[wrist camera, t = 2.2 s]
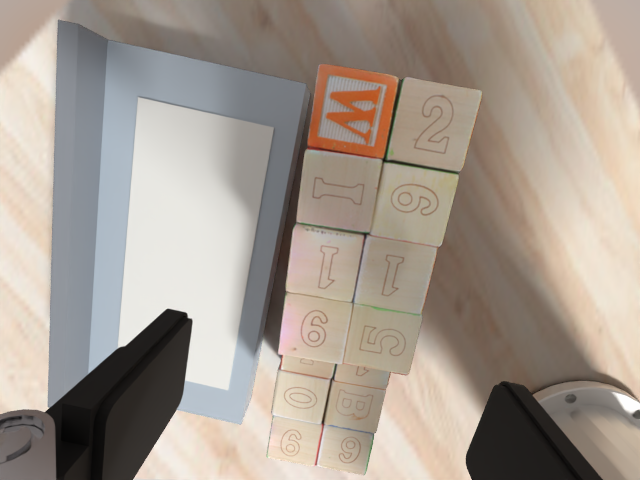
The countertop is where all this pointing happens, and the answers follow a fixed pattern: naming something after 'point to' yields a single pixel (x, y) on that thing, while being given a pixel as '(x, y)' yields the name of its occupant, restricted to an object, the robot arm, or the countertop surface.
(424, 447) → the countertop surface
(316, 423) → the stack of blocks
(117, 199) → the tray
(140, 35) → the countertop surface
